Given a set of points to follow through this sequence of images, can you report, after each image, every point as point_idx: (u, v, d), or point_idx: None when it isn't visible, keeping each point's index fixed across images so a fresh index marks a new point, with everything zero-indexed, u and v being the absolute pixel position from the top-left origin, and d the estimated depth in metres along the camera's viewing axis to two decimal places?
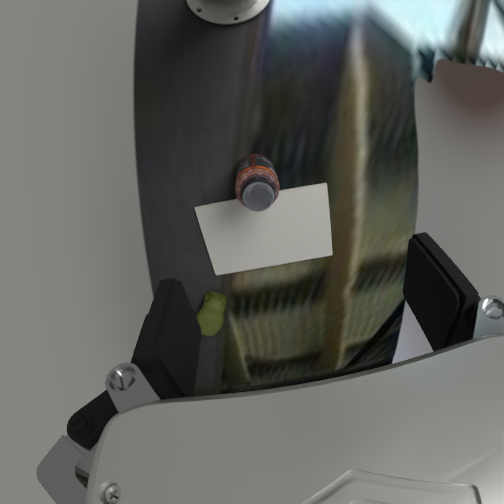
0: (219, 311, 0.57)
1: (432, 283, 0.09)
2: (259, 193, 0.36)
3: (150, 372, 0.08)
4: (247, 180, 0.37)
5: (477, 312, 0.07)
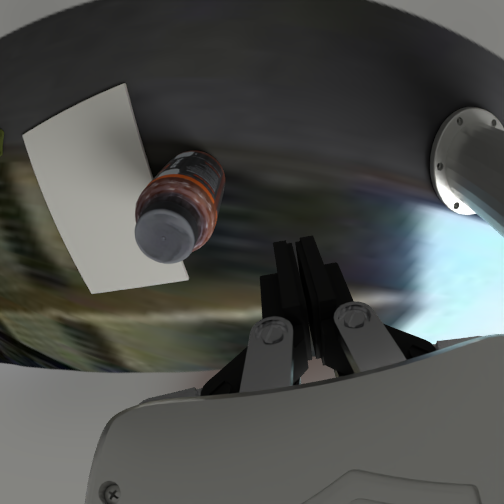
0: None
1: (305, 286, 0.10)
2: (171, 240, 0.18)
3: None
4: (191, 206, 0.19)
5: (339, 331, 0.08)
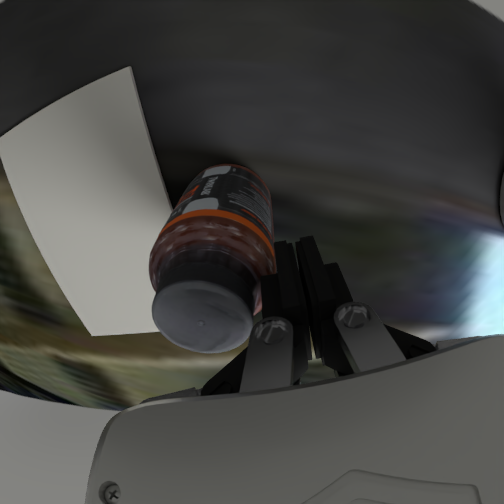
0: None
1: (305, 286, 0.10)
2: (214, 326, 0.11)
3: None
4: (244, 268, 0.12)
5: (339, 331, 0.08)
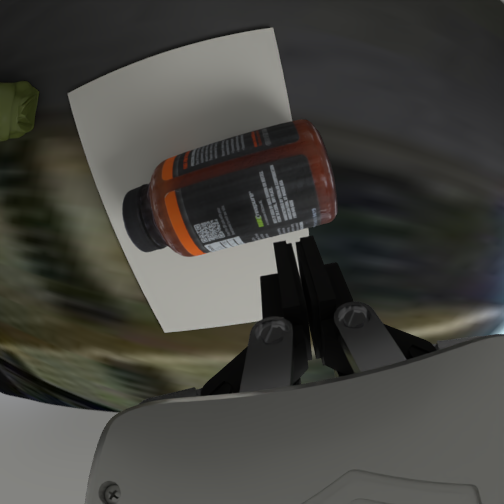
0: None
1: (305, 286, 0.10)
2: None
3: None
4: (147, 186, 0.16)
5: (339, 331, 0.08)
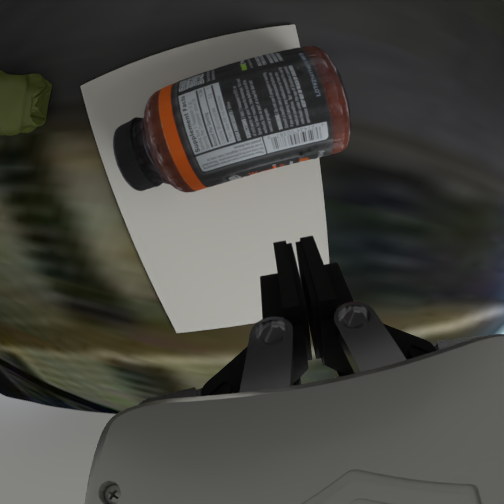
0: (2, 125, 0.13)
1: (305, 286, 0.10)
2: None
3: None
4: None
5: (339, 331, 0.08)
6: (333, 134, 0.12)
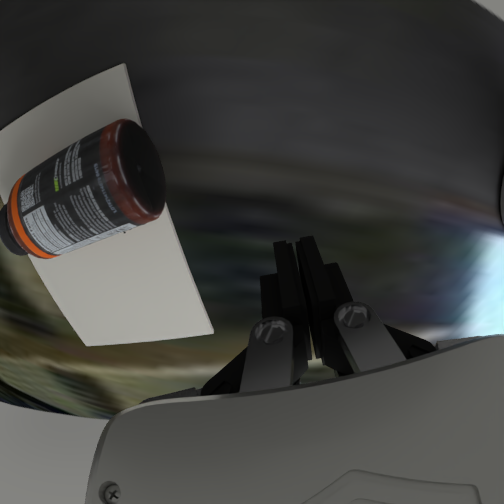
0: None
1: (305, 286, 0.10)
2: None
3: None
4: None
5: (339, 331, 0.08)
6: (140, 223, 0.15)
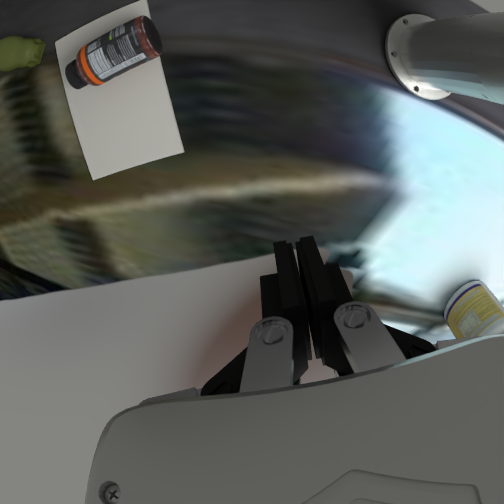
0: (19, 60, 0.23)
1: (305, 286, 0.10)
2: None
3: None
4: None
5: (339, 331, 0.08)
6: (148, 55, 0.25)
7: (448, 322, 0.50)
